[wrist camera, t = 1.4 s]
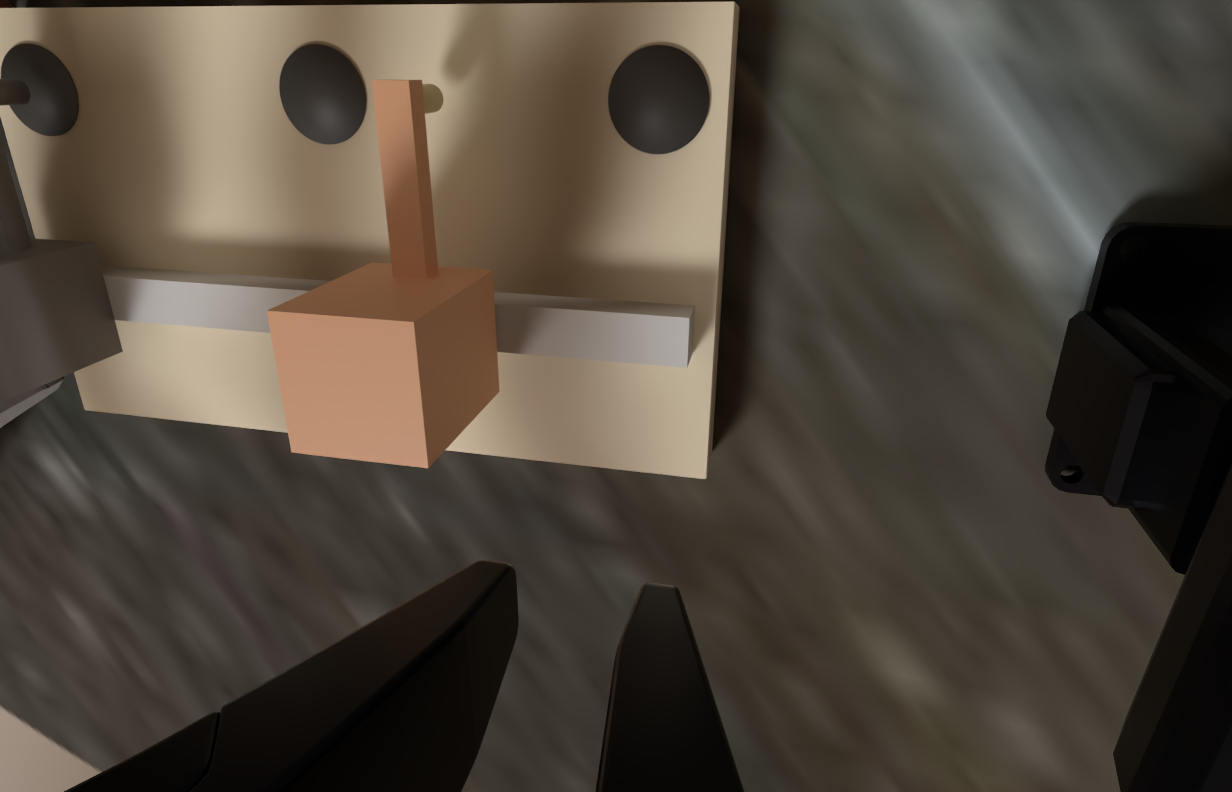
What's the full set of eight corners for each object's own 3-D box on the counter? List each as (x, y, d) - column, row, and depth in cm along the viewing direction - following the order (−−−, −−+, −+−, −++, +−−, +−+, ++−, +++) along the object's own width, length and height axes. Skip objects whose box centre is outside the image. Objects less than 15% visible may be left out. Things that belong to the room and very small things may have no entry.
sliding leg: (493, 79, 17) (389, 84, 12) (509, 381, 19) (428, 468, 15) (366, 77, 17) (226, 82, 13) (399, 370, 20) (291, 452, 16)
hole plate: (739, 6, 17) (707, -25, 11) (711, 453, 21) (678, 599, 16) (23, 12, 21) (-282, -10, 15) (123, 391, 25) (-83, 490, 19)
